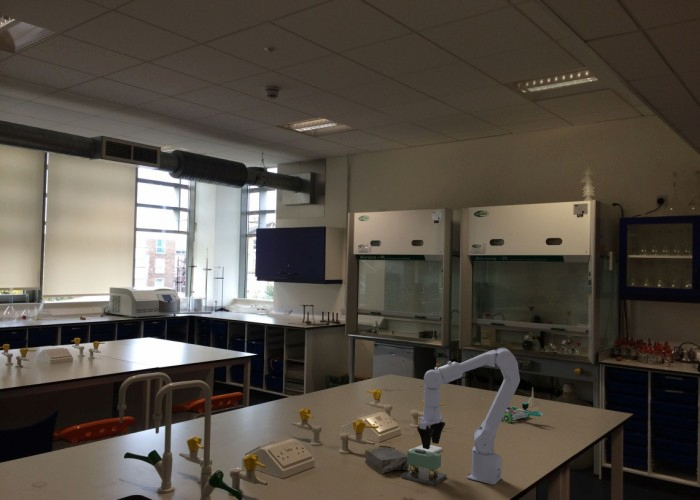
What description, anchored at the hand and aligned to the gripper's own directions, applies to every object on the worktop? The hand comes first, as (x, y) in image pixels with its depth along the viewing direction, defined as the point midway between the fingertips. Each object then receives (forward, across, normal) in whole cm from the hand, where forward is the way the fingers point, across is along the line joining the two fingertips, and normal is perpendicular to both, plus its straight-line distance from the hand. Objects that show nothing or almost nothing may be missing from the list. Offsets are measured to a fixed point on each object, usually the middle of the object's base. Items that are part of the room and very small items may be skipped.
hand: (430, 445), depth 195 cm
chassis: (+9, +5, 0) cm, 10 cm away
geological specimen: (+10, +3, -16) cm, 19 cm away
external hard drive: (+10, -21, -12) cm, 26 cm away
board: (+5, +5, 0) cm, 7 cm away
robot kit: (+10, -94, +4) cm, 94 cm away
